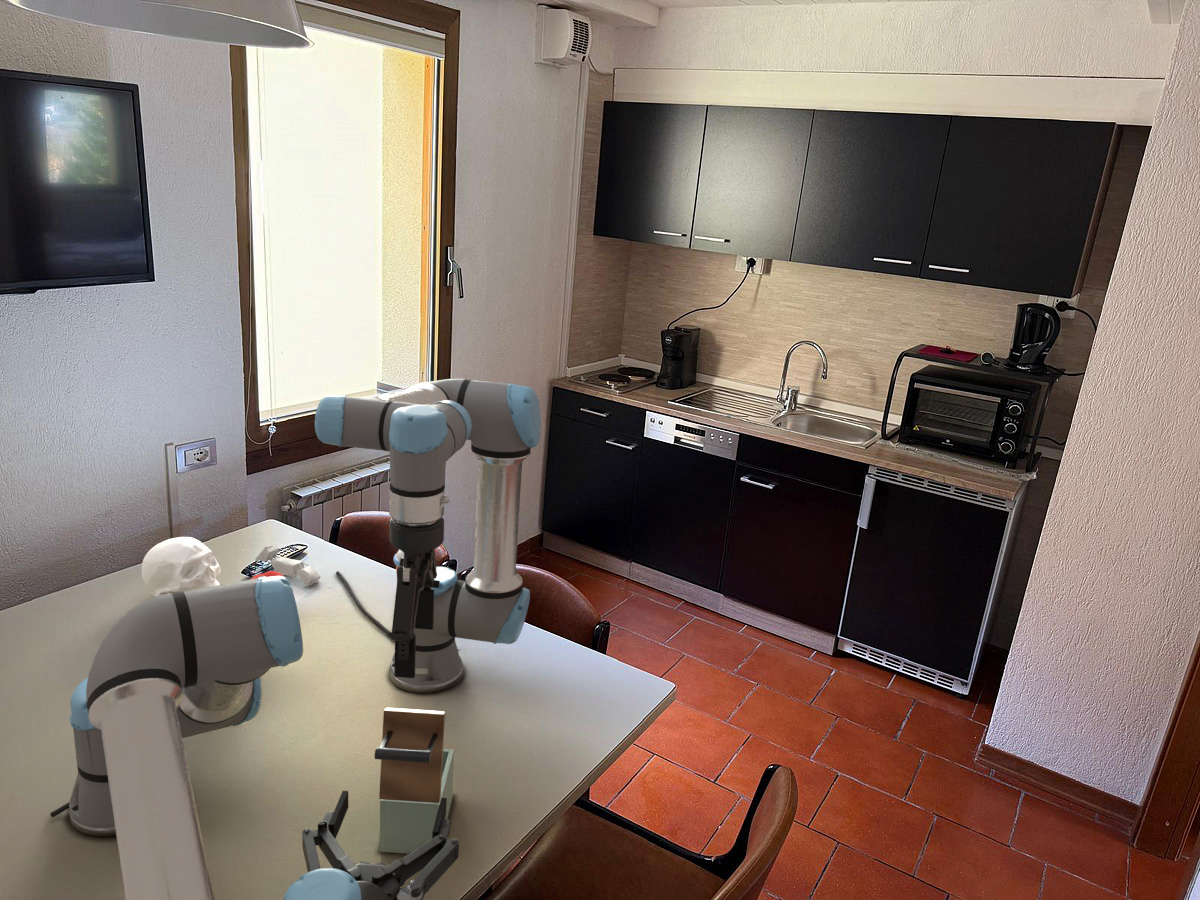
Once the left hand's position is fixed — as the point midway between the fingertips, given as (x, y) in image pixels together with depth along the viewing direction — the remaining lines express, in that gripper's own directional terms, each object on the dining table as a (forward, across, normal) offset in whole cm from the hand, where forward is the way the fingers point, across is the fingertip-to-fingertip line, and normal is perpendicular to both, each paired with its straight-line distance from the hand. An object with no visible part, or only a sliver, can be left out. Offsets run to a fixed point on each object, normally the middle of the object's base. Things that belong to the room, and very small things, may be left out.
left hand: (394, 802), depth 119 cm
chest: (+17, 0, -19) cm, 25 cm away
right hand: (+13, 0, +16) cm, 21 cm away
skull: (+84, -68, -20) cm, 110 cm away
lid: (+12, 0, -1) cm, 13 cm away
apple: (+81, -48, -19) cm, 97 cm away
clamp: (+102, -51, -20) cm, 116 cm away
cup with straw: (+96, -18, -19) cm, 99 cm away
